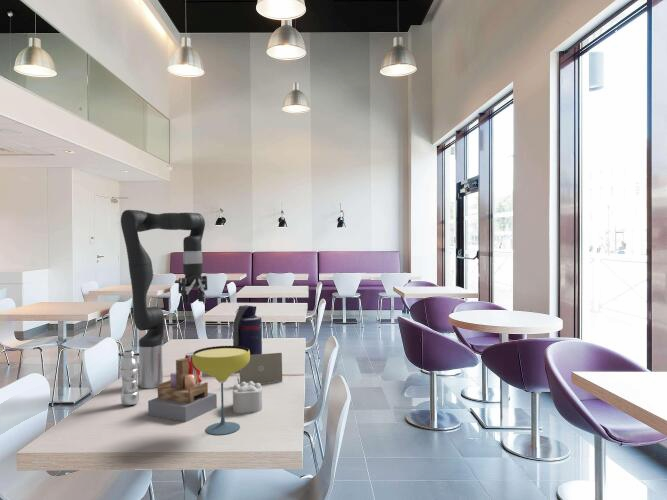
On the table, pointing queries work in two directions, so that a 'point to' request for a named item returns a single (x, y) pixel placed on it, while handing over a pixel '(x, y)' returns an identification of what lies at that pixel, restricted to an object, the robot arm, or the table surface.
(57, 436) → the table surface
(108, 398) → the table surface
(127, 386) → the plastic bottle
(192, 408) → the plain gray square box
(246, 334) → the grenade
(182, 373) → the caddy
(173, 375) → the lilac rounded capsule
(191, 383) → the peach glossy rounded part
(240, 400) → the lumpy-topped squat cylinder
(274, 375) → the laptop
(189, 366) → the soda can
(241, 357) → the cocktail glass
